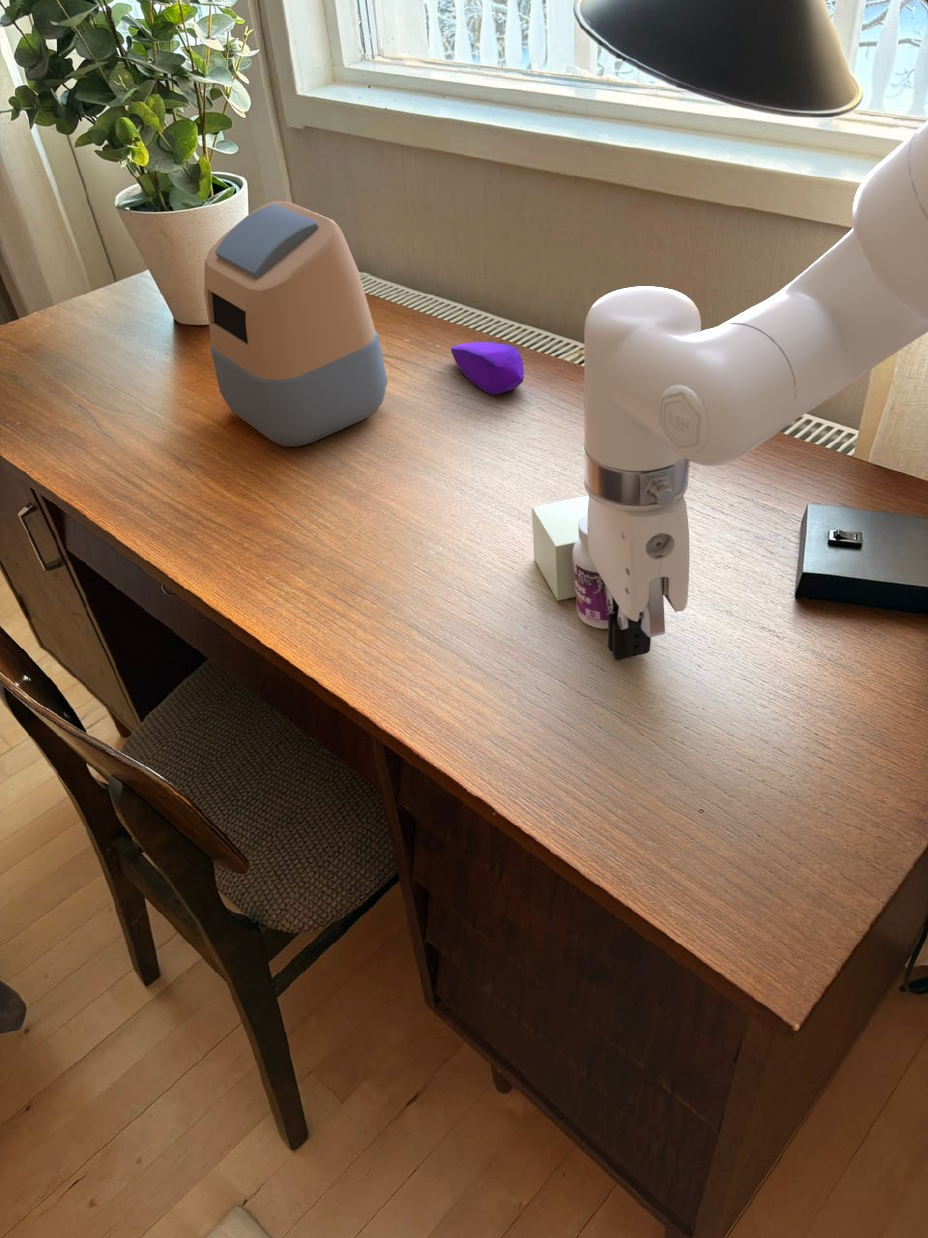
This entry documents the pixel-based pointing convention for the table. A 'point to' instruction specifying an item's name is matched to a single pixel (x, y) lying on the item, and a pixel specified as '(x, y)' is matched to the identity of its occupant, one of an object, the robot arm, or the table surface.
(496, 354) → the crystal
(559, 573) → the sage block
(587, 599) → the pill bottle
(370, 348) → the alarm clock
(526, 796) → the table surface
